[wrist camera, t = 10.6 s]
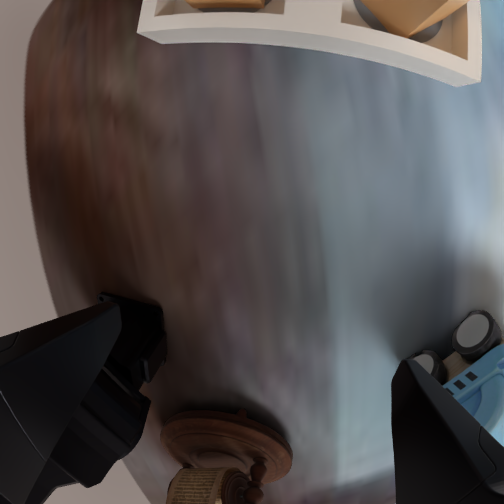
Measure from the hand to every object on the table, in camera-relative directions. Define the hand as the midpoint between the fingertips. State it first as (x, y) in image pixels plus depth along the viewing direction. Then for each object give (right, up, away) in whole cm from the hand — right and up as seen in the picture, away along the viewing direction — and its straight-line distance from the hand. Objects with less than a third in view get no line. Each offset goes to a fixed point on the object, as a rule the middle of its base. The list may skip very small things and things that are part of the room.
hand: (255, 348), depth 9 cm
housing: (+4, +19, +6) cm, 21 cm away
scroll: (-3, -19, +22) cm, 29 cm away
